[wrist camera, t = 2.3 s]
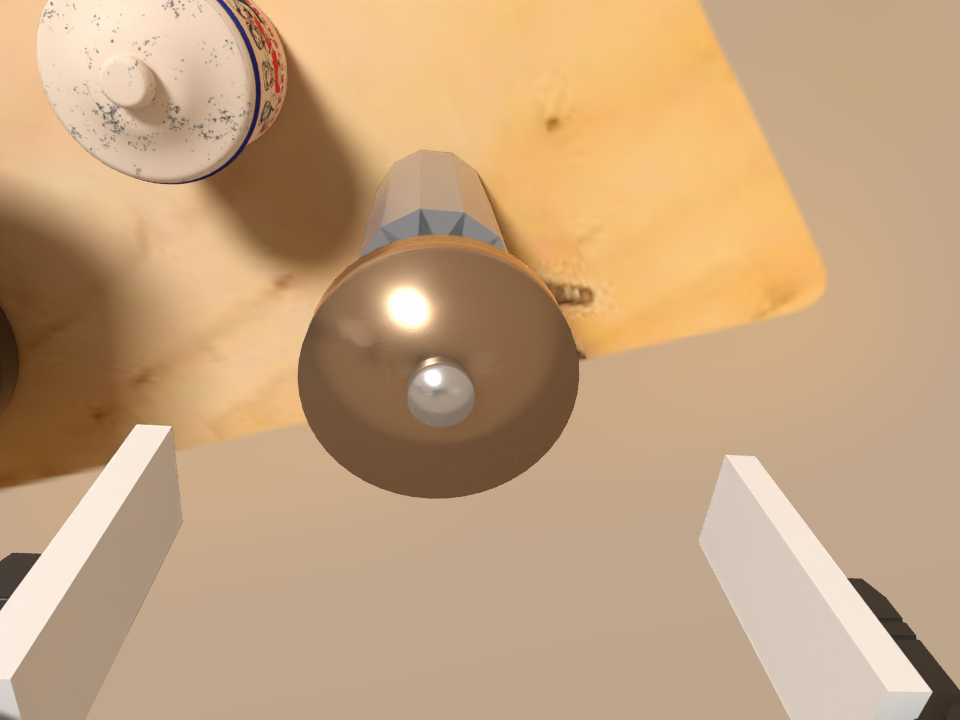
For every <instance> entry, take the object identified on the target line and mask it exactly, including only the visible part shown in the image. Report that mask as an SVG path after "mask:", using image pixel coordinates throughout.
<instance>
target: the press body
mask: <svg viewBox="0 0 960 720" xmlns="http://www.w3.org/2000/svg"><path fill="white" fill-rule="evenodd" d="M424 235H454V236H461V237H468V238H472V239H476V240H479V241H483V242H486V243H489V244H491V245H494V246H496V247H498V248H500V249H503V250H505V251H506V252H508V250H507V247H506V244H505V242H504V239H503V236H502V234H501V231H500V228H499V225H498V223H497V220H496V217H495V215H494V212H493V209H492V206H491V204H490V201H489V198H488V196H487V194H486V192H485V189H484V187H483V185H482V182H481V180H480V178H479V176H478V173H477V171H476V170H475V169H473V168H472V167H471V166H469V165H468V164H466V163H465V162H464V161H462V160H461V159H460V158H458V157H457V156H456V155H454V154H453V153H448V152H438V151H428V150H420V151H418V152H416V153H414V154H412V155H410V156H408V157H406V158H404V159H402V160H399V161H397V162H395V163H394V164H393V166H392V167H391V169H390V170H389V172H388V173H387V175H386V176H385V178H384V180H383V181H382V183H381V184H380V186H379V187H378V190H377V193H376V197H375V200H374V204H373V207H372V211H371V215H370V218H369V222H368V225H367V229H366V232H365V236H364V240H363V243H362V247H361V250H360V254H359V257H358V259H359V258H361V257H362V256H364V255H366V254H368V253H369V252H371V251H373V250H375V249H377V248H379V247H381V246H384V245H387V244H389V243H392V242H394V241H398V240H402V239H406V238H410V237H415V236H424Z"/></svg>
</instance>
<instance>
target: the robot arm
mask: <svg viewBox="0 0 960 720" xmlns="http://www.w3.org/2000/svg"><path fill="white" fill-rule="evenodd" d="M17 374H18V355H17V349H16V344H15V340H14V337H13V334H12V331H11V328H10V326H9V324H8V321H7V319H6V317H5V315H4V314H3V312H2V310H1V309H0V412H1V411H2V410H3V409H4V407H5V406H6V404H7V403H8V401H9V399H10V398H11V395H12V393H13V391H14V388H15V385H16V380H17ZM182 523H183V522H182V512H181V503H180V494H179V485H178V476H177V466H176V458H175V448H174V439H173V430H172V426H160V425H141V424H137V425H136V426H135V427H134V429H133V430H132V431H131V433H130V434H129V436H128V437H127V438H126V440H125V441H124V442H123V444H122V445H121V446H120V448H119V449H118V451H117V452H116V453H115V455H114V456H113V457H112V459H111V460H110V462H109V463H108V464H107V466H106V467H105V468H104V470H103V471H102V472H101V474H100V475H99V477H98V478H97V479H96V481H95V482H94V483H93V485H92V486H91V488H90V489H89V490H88V492H87V493H86V494H85V496H84V497H83V498H82V500H81V501H80V503H79V504H78V505H77V507H76V508H75V509H74V511H73V512H72V514H71V515H70V516H69V518H68V519H67V520H66V522H65V523H64V525H63V526H62V527H61V529H60V530H59V531H58V533H57V534H56V536H55V537H54V538H53V539H52V541H51V542H50V544H49V545H48V547H47V548H46V549H45V550H44V552H43V553H42V554H31V553H30V554H29V553H11V554H10V555H9V556H7V557H6V558H4V559H3V560H1V561H0V720H85V719H86V717H87V714H88V713H89V711H90V709H91V707H92V704H93V702H94V700H95V698H96V696H97V694H98V692H99V690H100V688H101V686H102V684H103V682H104V680H105V678H106V676H107V674H108V672H109V670H110V668H111V666H112V664H113V662H114V660H115V658H116V656H117V654H118V652H119V650H120V648H121V646H122V644H123V642H124V639H125V638H126V636H127V634H128V632H129V630H130V627H131V626H132V624H133V621H134V620H135V618H136V616H137V614H138V612H139V610H140V608H141V605H142V603H143V601H144V599H145V597H146V595H147V593H148V591H149V589H150V587H151V585H152V583H153V581H154V579H155V577H156V575H157V573H158V571H159V569H160V567H161V565H162V563H163V561H164V559H165V557H166V555H167V553H168V551H169V549H170V547H171V545H172V543H173V541H174V539H175V537H176V535H177V533H178V530H179V529H180V527H181V525H182ZM698 542H699V544H700V546H701V548H702V550H703V552H704V554H705V556H706V558H707V559H708V561H709V563H710V565H711V567H712V569H713V571H714V573H715V575H716V577H717V579H718V581H719V582H720V585H721V587H722V588H723V590H724V592H725V594H726V596H727V598H728V600H729V602H730V604H731V606H732V607H733V610H734V612H735V613H736V615H737V617H738V619H739V621H740V623H741V625H742V627H743V629H744V631H745V633H746V635H747V637H748V638H749V640H750V642H751V644H752V646H753V648H754V650H755V652H756V654H757V656H758V658H759V660H760V662H761V663H762V665H763V667H764V669H765V671H766V673H767V675H768V677H769V679H770V681H771V683H772V685H773V687H774V689H775V690H776V692H777V694H778V696H779V698H780V700H781V702H782V704H783V706H784V708H785V710H786V711H787V713H788V715H789V717H790V719H791V720H960V690H959V689H958V688H957V686H956V685H955V684H954V682H953V681H952V680H951V679H950V677H949V676H948V675H947V674H946V672H945V671H944V670H943V669H942V667H941V666H940V665H939V664H938V663H937V661H936V660H935V659H934V657H933V656H932V655H931V654H930V652H929V651H928V650H927V649H926V647H925V646H924V645H923V644H922V642H921V641H920V640H917V639H916V635H915V634H914V632H913V631H912V630H911V629H910V627H909V626H908V625H907V624H906V623H903V621H902V617H901V616H900V615H899V613H898V612H897V611H896V610H895V608H894V607H893V606H892V605H891V603H890V602H889V601H888V600H887V598H886V597H885V596H883V595H882V594H881V593H879V592H878V591H877V590H876V589H874V588H873V587H872V586H871V585H869V584H868V583H867V582H865V581H864V580H863V579H853V578H846V576H845V575H844V574H843V572H842V571H841V570H840V569H839V567H838V566H837V565H836V563H835V562H834V561H833V559H832V558H831V557H830V555H829V554H828V553H827V551H826V550H825V549H824V547H823V546H822V545H821V543H820V542H819V541H818V539H817V538H816V537H815V535H814V534H813V533H812V531H811V530H810V529H809V527H808V526H807V525H806V523H805V522H804V521H803V519H802V518H801V517H800V515H799V514H798V513H797V511H796V510H795V509H794V507H793V506H792V505H791V504H790V502H789V501H788V500H787V498H786V497H785V496H784V495H783V493H782V492H781V490H780V489H779V488H778V486H777V485H776V484H775V482H774V481H773V480H772V478H771V477H770V476H769V474H768V473H767V472H766V470H765V469H764V468H763V466H762V465H761V464H760V462H759V461H758V460H757V459H756V457H755V456H737V455H736V456H735V455H725V458H724V462H723V465H722V468H721V471H720V474H719V477H718V481H717V484H716V487H715V490H714V494H713V497H712V500H711V503H710V506H709V509H708V513H707V516H706V519H705V522H704V525H703V528H702V532H701V535H700V538H699V541H698Z"/></svg>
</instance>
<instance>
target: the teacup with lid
mask: <svg viewBox="0 0 960 720" xmlns="http://www.w3.org/2000/svg"><path fill="white" fill-rule="evenodd" d="M37 62H38V69H39V74H40V78H41V82H42V85H43V88H44V91H45V93H46V96H47V98H48V100H49V103H50V105H51V106H52V108H53V110H54V112H55V114H56V115H57V117H58V119H59V120H60V122H61V123H62V125H63V126H64V127H65V128H66V130H67V131H68V132H69V134H70V135H71V136H72V137H73V138H74V139H75V140H76V141H77V142H78V143H79V144H80V145H81V146H82V147H83V148H84V149H85V150H86V151H87V152H89V153H90V154H91V155H92V156H94V157H95V158H96V159H98V160H99V161H101V162H102V163H104V164H105V165H107V166H109V167H111V168H112V169H114V170H116V171H118V172H121V173H123V174H125V175H128V176H131V177H133V178H136V179H140V180H143V181H147V182H152V183H159V184H184V183H190V182H195V181H198V180H202V179H205V178H207V177H209V176H212V175H214V174H216V173H217V172H219V171H221V170H222V169H224V168H225V167H226V166H228V165H229V164H230V163H231V162H232V161H234V160H235V159H236V158H237V156H238V155H239V154H240V153H241V152H242V151H243V149H244V148H245V147H246V146H247V145H248V144H250V143H251V142H253V141H254V140H256V139H257V138H258V137H260V136H261V135H262V134H264V133H265V132H266V131H267V130H268V129H269V128H270V126H271V125H272V124H273V123H274V121H275V120H276V118H277V116H278V115H279V113H280V111H281V108H282V106H283V103H284V100H285V96H286V91H287V82H288V72H287V63H286V57H285V53H284V50H283V46H282V44H281V41H280V38H279V36H278V34H277V32H276V30H275V28H274V27H273V25H272V23H271V22H270V20H269V19H268V17H267V16H266V15H265V14H264V12H263V11H262V10H261V9H260V8H259V7H258V6H257V5H256V4H255V3H254V2H253V1H252V0H49V1H48V2H47V4H46V6H45V8H44V11H43V14H42V16H41V20H40V23H39V28H38V34H37Z"/></svg>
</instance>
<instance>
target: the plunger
mask: <svg viewBox="0 0 960 720" xmlns="http://www.w3.org/2000/svg"><path fill="white" fill-rule="evenodd" d="M578 382H579V361H578V356H577V350H576V345H575V342H574V339H573V336H572V333H571V330H570V328H569V326H568V324H567V322H566V320H565V318H564V315H563V313H562V311H561V309H560V307H559V305H558V303H557V301H556V299H555V297H554V295H553V294H552V293H551V291H550V290H549V288H548V287H547V286H546V284H545V283H544V282H543V280H542V279H541V278H540V277H539V276H538V275H537V274H536V273H535V272H534V271H533V270H532V269H531V268H530V267H528V266H527V265H526V264H525V263H523V262H522V261H521V260H520V259H518V258H516V257H515V256H513V255H511V254H510V253H508V252H506V251H505V250H503V249H500V248H498V247H496V246H494V245H491V244H489V243H486V242H483V241H479V240H476V239H472V238H468V237H461V236H454V235H424V236H415V237H410V238H406V239H402V240H398V241H394V242H392V243H389V244H387V245H384V246H381V247H379V248H377V249H375V250H373V251H371V252H369V253H368V254H366V255H364V256H362V257H361V258H359V259H358V260H357V261H355V262H354V263H353V264H351V265H350V266H349V267H347V268H346V269H345V270H344V271H343V272H342V273H341V274H340V275H339V276H338V277H337V278H336V279H335V280H334V281H333V283H332V284H331V285H330V287H329V288H328V289H327V291H326V292H325V293H324V295H323V297H322V299H321V300H320V302H319V304H318V306H317V307H316V310H315V313H314V315H313V318H312V320H311V323H310V326H309V328H308V331H307V334H306V336H305V339H304V341H303V344H302V348H301V353H300V358H299V365H298V386H299V395H300V399H301V403H302V408H303V411H304V413H305V416H306V418H307V421H308V423H309V426H310V427H311V429H312V431H313V432H314V434H315V436H316V438H317V439H318V440H319V442H320V443H321V444H322V446H323V447H324V448H325V449H326V451H327V452H328V453H329V454H330V455H331V456H332V457H333V458H334V459H335V460H336V461H337V462H338V463H339V464H340V465H342V466H343V467H344V468H346V469H347V470H348V471H349V472H351V473H352V474H354V475H356V476H357V477H359V478H361V479H362V480H364V481H366V482H368V483H370V484H372V485H374V486H377V487H379V488H381V489H385V490H387V491H391V492H394V493H397V494H401V495H407V496H411V497H420V498H430V499H431V498H454V497H462V496H467V495H472V494H476V493H480V492H483V491H486V490H489V489H492V488H495V487H497V486H499V485H502V484H504V483H506V482H508V481H510V480H512V479H513V478H515V477H517V476H518V475H520V474H522V473H523V472H525V471H526V470H527V469H529V468H530V467H531V466H532V465H534V464H535V463H536V462H538V461H539V460H540V459H541V457H543V456H544V455H545V454H546V453H547V452H548V451H549V449H550V448H551V447H552V446H553V444H554V443H555V442H556V440H557V439H558V438H559V436H560V435H561V433H562V431H563V429H564V428H565V426H566V424H567V422H568V420H569V418H570V415H571V413H572V411H573V408H574V404H575V400H576V396H577V391H578Z"/></svg>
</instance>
